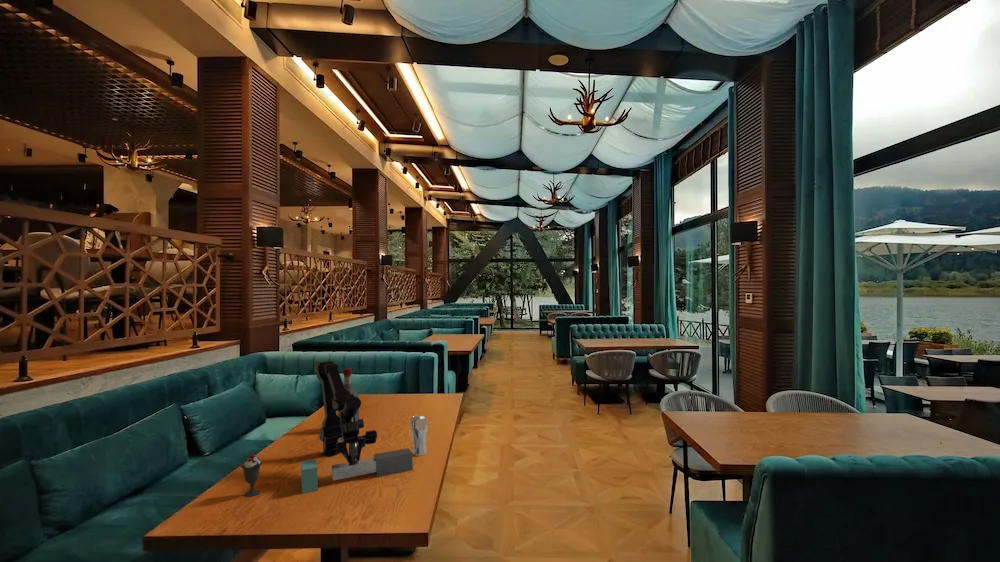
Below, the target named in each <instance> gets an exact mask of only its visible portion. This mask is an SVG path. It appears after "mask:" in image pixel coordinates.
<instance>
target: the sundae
mask: <svg viewBox="0 0 1000 562" xmlns="http://www.w3.org/2000/svg"><path fill="white" fill-rule="evenodd" d="M252 453H253V451H250V452H249V456H248V457H247V460H246V461H245V462H244V463H243V464H242V465H241V466H240V468H241V469H242V471H243V476H244V480H245V482H246V483H247V484H249V490H248V491H247V492H245V493H244V494H243V496H244V497H247V498H248V497H249V498H250V496H251V497H254V496H255V497H256V496H257V495H259V494H260V493H261V490H259V489H255V484H256V483H257V481H258V480H259V477H260V469H261V466H262V465H263V460H260V457H258V456H257V455H255V454H252Z"/></svg>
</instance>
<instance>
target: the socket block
mask: <svg viewBox="0 0 1000 562" xmlns="http://www.w3.org/2000/svg"><path fill="white" fill-rule="evenodd" d="M300 475H301V477H300V478H301V480H300V481H301V482H300V483H301V493H302V494H306V493H307V494H308V493H311V492H316V491H317V492H318V491H319V486H318V485H319V484H318V483H319V481H318V463H317V459H316V458H314V459H308V460H302V461H300Z"/></svg>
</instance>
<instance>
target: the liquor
mask: <svg viewBox="0 0 1000 562" xmlns="http://www.w3.org/2000/svg"><path fill="white" fill-rule="evenodd" d="M343 385H344V387H345V389H346V390H348V391H349V392H350V394H353V395H354V396H355V397H357V398H359V399H360V395H359V392H357V391H356V390H355V389H354V388H353V386H352V385H353V384H352V368H343ZM342 411H343V410H342ZM342 411H337V415H338V417H340V413H341V412H342ZM355 418H356V421H358V419H360V409H359V410H358V413H357V414H356V415H355Z"/></svg>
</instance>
